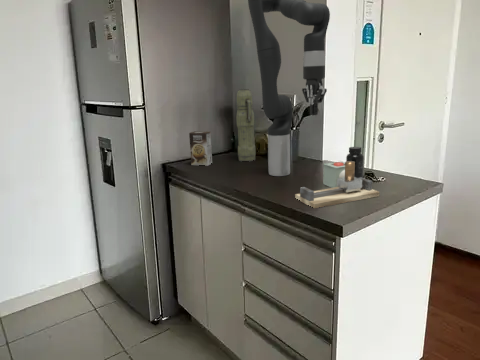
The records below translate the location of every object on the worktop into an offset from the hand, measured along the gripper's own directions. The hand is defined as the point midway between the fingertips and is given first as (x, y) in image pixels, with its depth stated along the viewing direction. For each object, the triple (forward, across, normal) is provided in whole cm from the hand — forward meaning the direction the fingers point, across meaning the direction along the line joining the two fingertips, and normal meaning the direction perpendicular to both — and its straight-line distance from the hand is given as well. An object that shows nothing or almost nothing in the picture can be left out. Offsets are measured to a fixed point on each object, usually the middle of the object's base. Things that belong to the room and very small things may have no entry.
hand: (313, 114), depth 141 cm
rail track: (+27, -15, 0) cm, 31 cm away
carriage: (+25, -15, -5) cm, 30 cm away
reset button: (+22, -3, -9) cm, 24 cm away
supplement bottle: (+27, +4, -22) cm, 35 cm away
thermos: (+27, +58, +3) cm, 64 cm away
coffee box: (+27, +61, +26) cm, 72 cm away
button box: (+27, -3, -9) cm, 29 cm away
